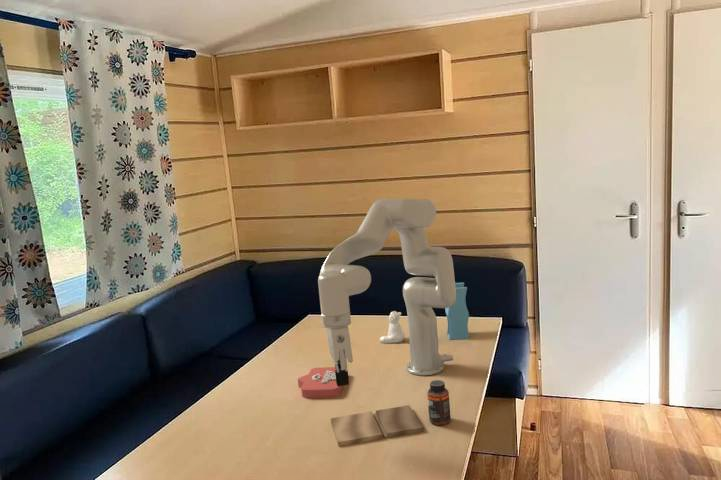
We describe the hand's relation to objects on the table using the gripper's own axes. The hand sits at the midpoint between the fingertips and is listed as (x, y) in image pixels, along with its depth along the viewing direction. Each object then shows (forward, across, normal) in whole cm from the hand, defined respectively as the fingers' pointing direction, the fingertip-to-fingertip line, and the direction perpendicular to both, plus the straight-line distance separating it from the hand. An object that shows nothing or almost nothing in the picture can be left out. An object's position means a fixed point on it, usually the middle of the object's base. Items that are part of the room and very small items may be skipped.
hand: (342, 384), depth 162 cm
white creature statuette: (+15, +67, -30) cm, 75 cm away
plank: (+15, +2, -3) cm, 15 cm away
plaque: (+16, +35, +3) cm, 38 cm away
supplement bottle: (+15, -1, -26) cm, 30 cm away
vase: (+15, +62, -54) cm, 83 cm away
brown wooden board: (+15, +2, -15) cm, 21 cm away
